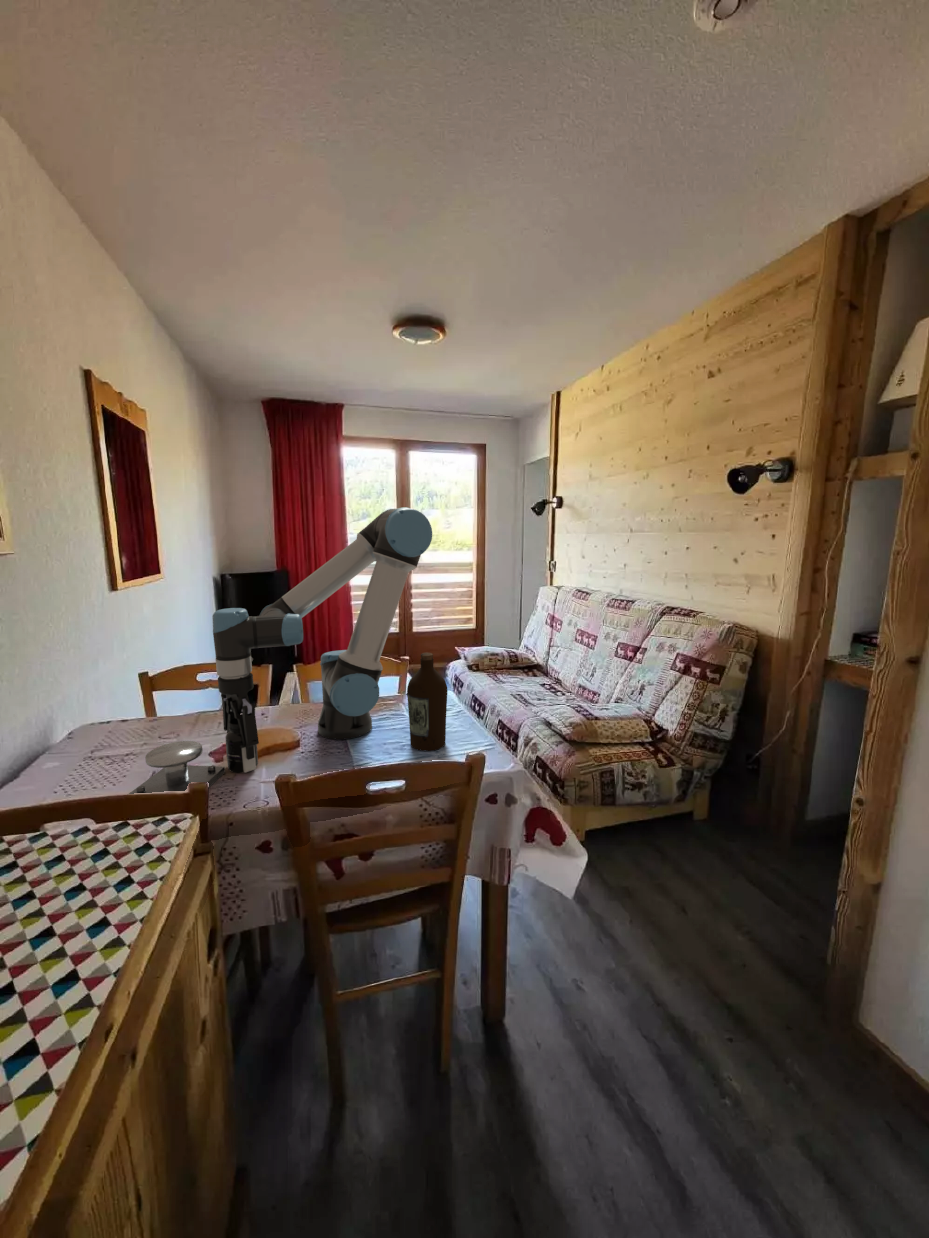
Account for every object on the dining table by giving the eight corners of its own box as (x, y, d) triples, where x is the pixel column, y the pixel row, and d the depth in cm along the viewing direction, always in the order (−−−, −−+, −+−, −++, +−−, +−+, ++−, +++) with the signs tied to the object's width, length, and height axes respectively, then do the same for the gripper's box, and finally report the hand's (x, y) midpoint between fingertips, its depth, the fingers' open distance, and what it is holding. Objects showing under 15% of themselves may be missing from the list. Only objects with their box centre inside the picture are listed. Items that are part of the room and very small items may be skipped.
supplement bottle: (227, 776, 118) (223, 728, 116) (228, 763, 124) (223, 717, 122) (259, 770, 121) (255, 723, 118) (258, 758, 127) (254, 713, 125)
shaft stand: (225, 772, 120) (221, 739, 118) (189, 805, 106) (185, 767, 104) (168, 770, 121) (164, 737, 119) (126, 802, 107) (121, 765, 105)
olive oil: (425, 732, 143) (424, 646, 138) (455, 741, 137) (455, 652, 132) (399, 745, 134) (397, 655, 129) (430, 756, 128) (429, 661, 123)
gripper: (269, 679, 114) (277, 773, 118) (234, 662, 127) (241, 747, 132) (236, 687, 109) (245, 785, 113) (202, 669, 122) (211, 756, 126)
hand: (243, 764), depth 122 cm, fingers closed on supplement bottle, 7 cm apart
